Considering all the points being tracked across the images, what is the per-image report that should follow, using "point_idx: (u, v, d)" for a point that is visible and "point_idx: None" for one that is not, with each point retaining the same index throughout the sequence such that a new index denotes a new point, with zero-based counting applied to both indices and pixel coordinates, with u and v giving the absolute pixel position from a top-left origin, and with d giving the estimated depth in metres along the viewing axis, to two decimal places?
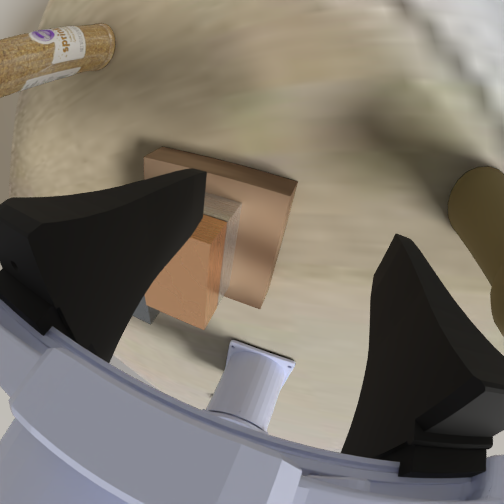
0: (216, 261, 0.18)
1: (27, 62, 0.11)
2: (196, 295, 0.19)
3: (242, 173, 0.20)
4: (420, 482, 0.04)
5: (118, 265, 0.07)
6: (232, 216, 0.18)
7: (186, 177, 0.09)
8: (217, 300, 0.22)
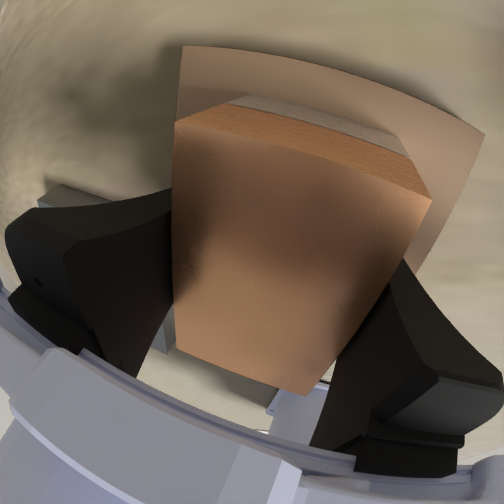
0: None
1: None
2: (320, 339, 0.07)
3: (387, 86, 0.08)
4: (420, 482, 0.04)
5: (150, 279, 0.07)
6: None
7: None
8: None
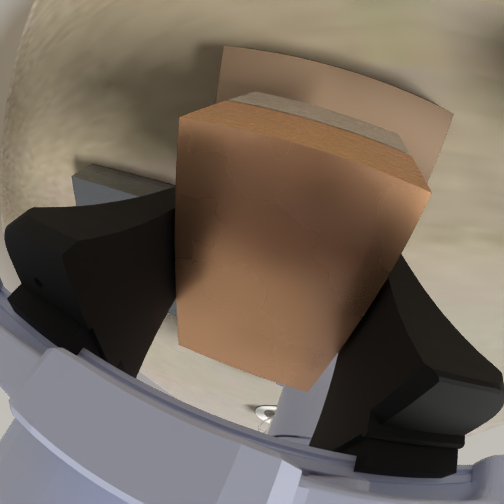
0: None
1: None
2: (321, 333, 0.08)
3: None
4: (420, 482, 0.04)
5: (149, 279, 0.07)
6: None
7: None
8: None
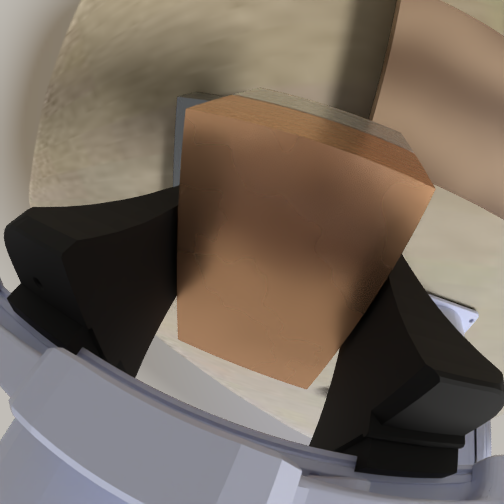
0: None
1: None
2: (323, 328, 0.08)
3: None
4: (420, 482, 0.04)
5: (149, 279, 0.07)
6: None
7: None
8: None
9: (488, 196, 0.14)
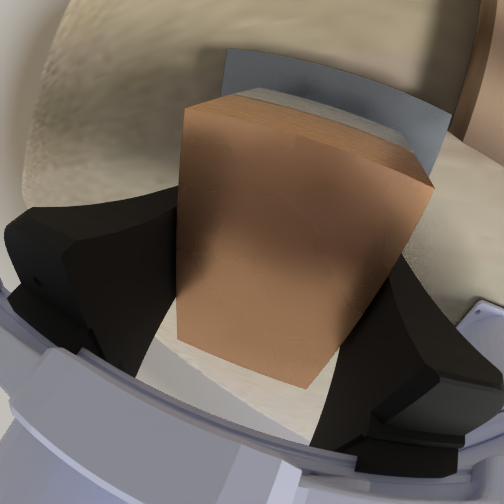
0: None
1: None
2: (322, 328, 0.08)
3: None
4: (420, 482, 0.04)
5: (149, 279, 0.07)
6: None
7: None
8: None
9: None
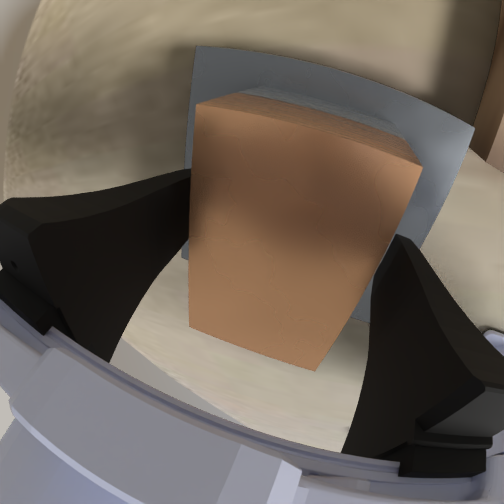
0: None
1: None
2: (328, 306, 0.08)
3: None
4: (420, 482, 0.04)
5: (118, 265, 0.07)
6: None
7: (186, 177, 0.09)
8: None
9: None
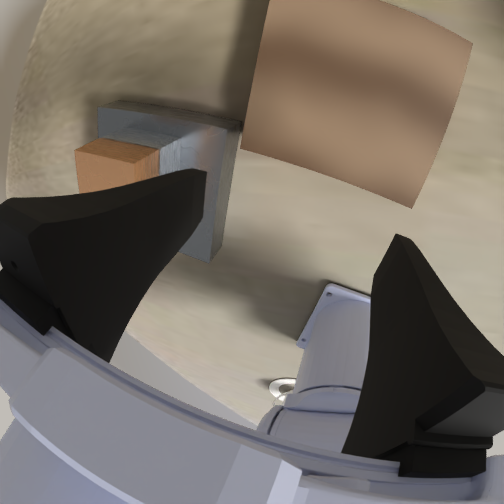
0: None
1: None
2: None
3: None
4: (420, 482, 0.04)
5: (118, 265, 0.07)
6: (167, 146, 0.17)
7: (186, 177, 0.09)
8: None
9: (385, 182, 0.15)
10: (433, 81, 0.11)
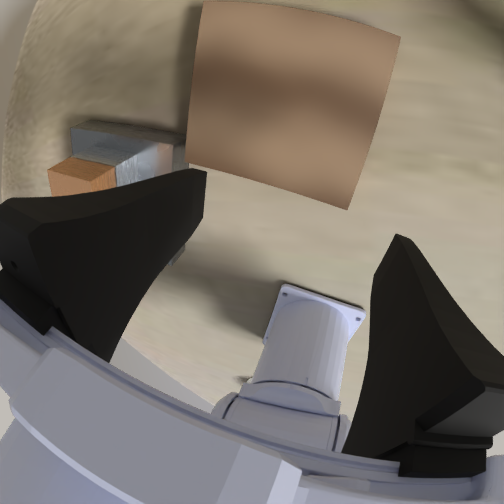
0: None
1: None
2: None
3: None
4: (420, 482, 0.04)
5: (118, 265, 0.07)
6: (122, 163, 0.18)
7: (186, 177, 0.09)
8: None
9: (317, 186, 0.17)
10: (357, 82, 0.13)
